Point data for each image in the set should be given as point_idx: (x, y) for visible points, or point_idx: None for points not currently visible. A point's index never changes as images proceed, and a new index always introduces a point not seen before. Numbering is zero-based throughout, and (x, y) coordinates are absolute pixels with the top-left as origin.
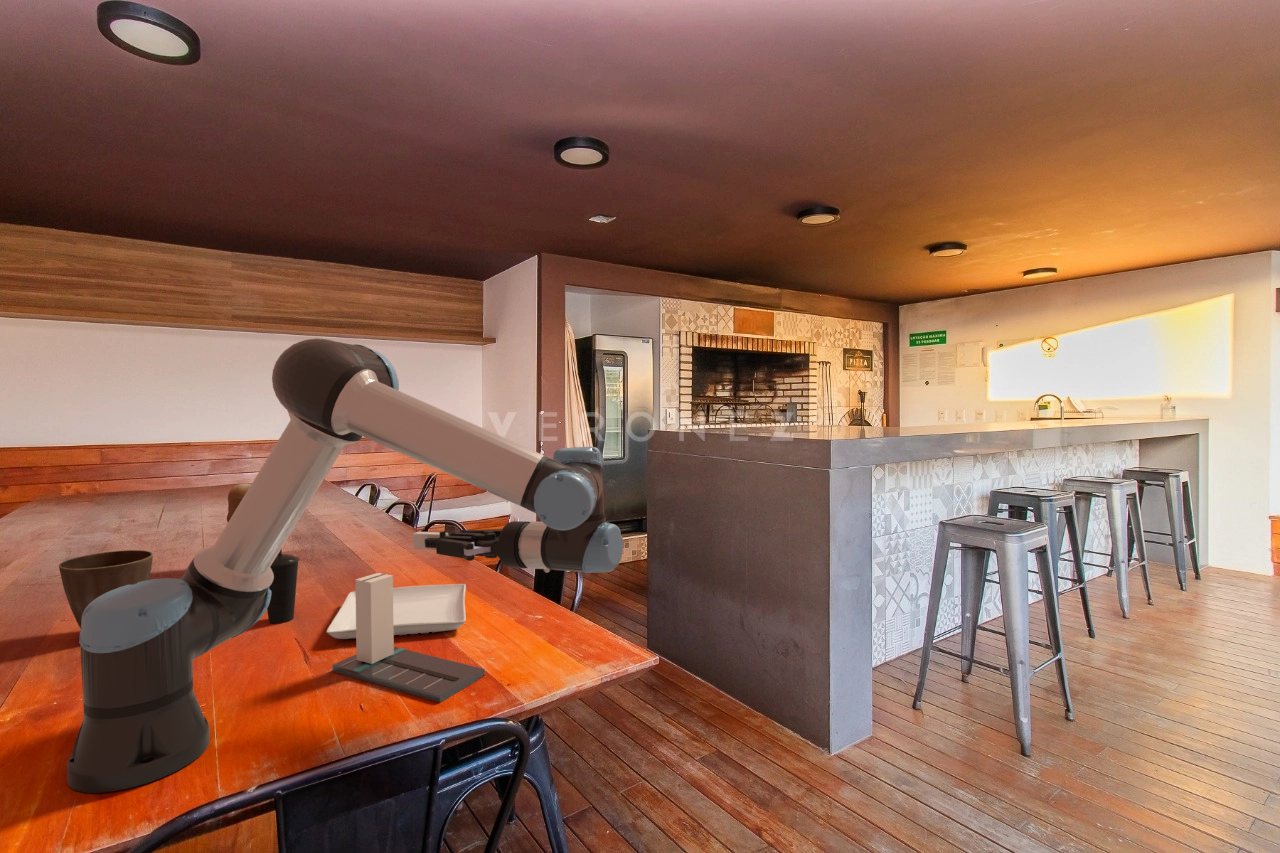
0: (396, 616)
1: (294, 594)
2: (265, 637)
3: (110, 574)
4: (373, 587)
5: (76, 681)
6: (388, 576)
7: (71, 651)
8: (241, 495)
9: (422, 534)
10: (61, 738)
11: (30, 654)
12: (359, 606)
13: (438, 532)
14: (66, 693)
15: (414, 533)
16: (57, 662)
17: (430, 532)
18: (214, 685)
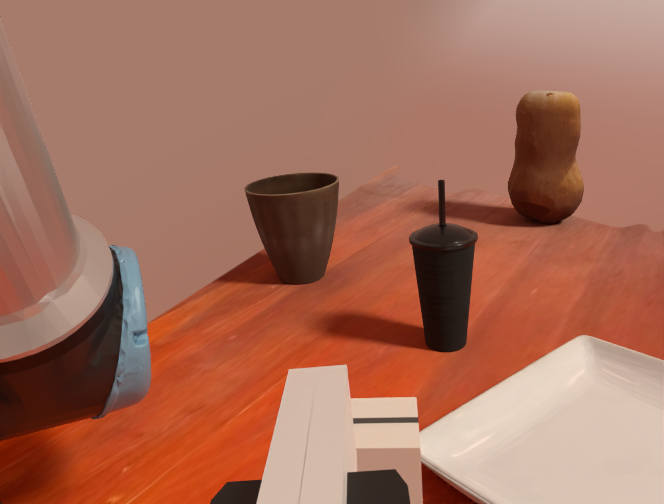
0: (624, 466)
1: (460, 307)
2: (379, 374)
3: (269, 205)
4: None
5: (177, 340)
6: (401, 444)
7: (249, 288)
8: (526, 108)
9: (278, 419)
10: (12, 441)
11: (233, 277)
12: None
13: (337, 481)
14: None
15: (291, 373)
16: (221, 299)
17: (333, 428)
18: (190, 455)
